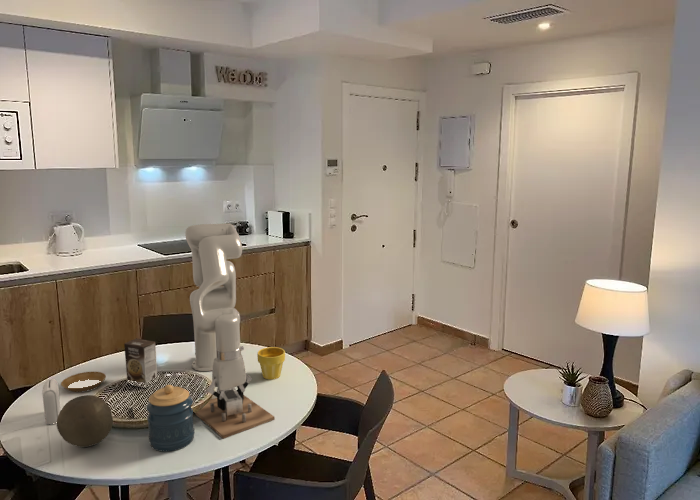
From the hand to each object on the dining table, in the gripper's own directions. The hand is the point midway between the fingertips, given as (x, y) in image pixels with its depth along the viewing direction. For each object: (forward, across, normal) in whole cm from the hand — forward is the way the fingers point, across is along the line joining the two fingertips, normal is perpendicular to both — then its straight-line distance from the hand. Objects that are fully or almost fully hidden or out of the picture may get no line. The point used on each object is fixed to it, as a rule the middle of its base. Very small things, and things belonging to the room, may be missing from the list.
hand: (230, 405), depth 175 cm
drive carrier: (+1, 0, 0) cm, 1 cm away
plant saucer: (+4, +31, -54) cm, 62 cm away
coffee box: (+3, +14, -42) cm, 44 cm away
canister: (+3, +21, +3) cm, 21 cm away
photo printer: (+3, +45, -35) cm, 57 cm away
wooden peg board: (+3, 0, 0) cm, 3 cm away
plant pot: (+3, -26, -17) cm, 31 cm away
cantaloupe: (+3, +41, -10) cm, 42 cm away
